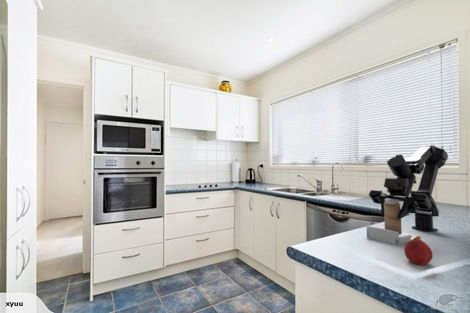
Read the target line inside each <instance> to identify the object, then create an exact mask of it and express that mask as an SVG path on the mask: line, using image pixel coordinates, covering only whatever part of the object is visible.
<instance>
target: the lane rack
mask: <svg viewBox="0 0 470 313" xmlns="http://www.w3.org/2000/svg"><path fill="white" fill-rule="evenodd" d="M416 236H417V234H416V235H414V234H411V233H406V232H402V234H400V235H399V232H396V231H391V230H386V229H385V228H382V227H377V226H372V225H366V238H368V239H373V240H376V241H380V242H384V243H388V244H392V245H395V246H400V245H402V244H405V243H407V242H409V241H410V240H412V239H414V238H415V237H416Z"/></svg>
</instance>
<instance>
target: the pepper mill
mask: <svg viewBox="0 0 470 313" xmlns="http://www.w3.org/2000/svg"><path fill="white" fill-rule="evenodd" d="M400 210H401V203H400V202H399V200H398V199H385V203H384V216H383V219H384V229H386V230H391V231H396V232H399V235H400V234H402V233H403V232H402V228H403V227H402V218H401V219H399V218H398V215H399V212H400Z"/></svg>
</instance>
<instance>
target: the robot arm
mask: <svg viewBox="0 0 470 313" xmlns="http://www.w3.org/2000/svg"><path fill="white" fill-rule="evenodd" d="M448 159H449V155H448V152H447V151H446V150H445V149H444V148H440V147H437V146H436V145H434V144H427V145H426V144H424V145H420V146H419V147H418V149H417V150H416V151H415V152H414V153H413V154H412V155H411V156H410V157H404V156H403V154H395V156H393V157H391V158H390V159H388V160H387V161H386V162H387V166H388V168H389V169H390V171H391V174H393V176H395V177H396V178H391V177H389V178H388V177H387V178H386V177H385V179H384V182H383V187H384V188H385V189H387V190H386V192H387V193H388V194H387V193H384V192H383V191H382V190H378V189H377V190H376V189H370V190H369V193H368V196H369V197H370V198H371V201H372V202H373V203H374V204H378V205H380V210H381V211H380V212H381V216H382V217H384V203H385V199H398V200H399V203H402V205H401V207H400V209H401V210H400V212H399V215H398V218H399V219H401V220H402V219H403V218H405V217H406V216H407V215H409V214H414V225H413V226H411V228H412V229H415V230H421V231H425V232H432V231H434V232H435V231H438V230H439V229H438V228H436V227H434V218H435V217H439V214H440V210H439V209H438V206H437V204H436V202H435V199H434V197H433V195H432V194H433V192H434V187H435V184H436V179H437V175H438V173H439V169H440V168H442V167H444V166H445V165H446V163H447V161H448ZM419 174H420V175H421V178H420V182H419V185H418V188H417V190H413V187H414V184H417V180H416V178H417V177H416V175H419Z"/></svg>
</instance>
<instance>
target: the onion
mask: <svg viewBox="0 0 470 313" xmlns="http://www.w3.org/2000/svg"><path fill="white" fill-rule="evenodd" d="M421 239H422V237H421V236H420V235H416V237H415V238H414V239H412V240H410V241H408V242H405V243H406V244H405V245H404V246H403V251H404V255H405V256H406V258H407V259H408V260H409V262H411V263H412V264H416V265H418V266H424V265H427V264H429V263H430V262H431V261H432V259H433V257H434V255H433V251H432V248H431V247H430V246H429V245H428V244H427V243H426V242H424V241H423V240H421Z"/></svg>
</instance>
